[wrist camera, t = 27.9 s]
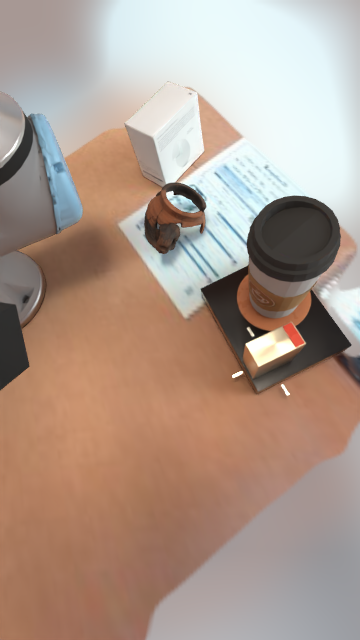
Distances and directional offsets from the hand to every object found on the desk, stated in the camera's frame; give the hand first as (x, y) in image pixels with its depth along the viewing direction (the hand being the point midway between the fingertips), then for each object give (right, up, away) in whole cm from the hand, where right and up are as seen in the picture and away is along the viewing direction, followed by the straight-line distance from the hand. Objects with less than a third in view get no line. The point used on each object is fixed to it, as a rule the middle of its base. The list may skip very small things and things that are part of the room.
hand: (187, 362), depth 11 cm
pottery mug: (-1, +15, +40) cm, 43 cm away
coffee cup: (+12, +4, +31) cm, 34 cm away
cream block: (+11, -4, +28) cm, 31 cm away
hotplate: (+12, 0, +32) cm, 34 cm away
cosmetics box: (-1, +30, +46) cm, 54 cm away
